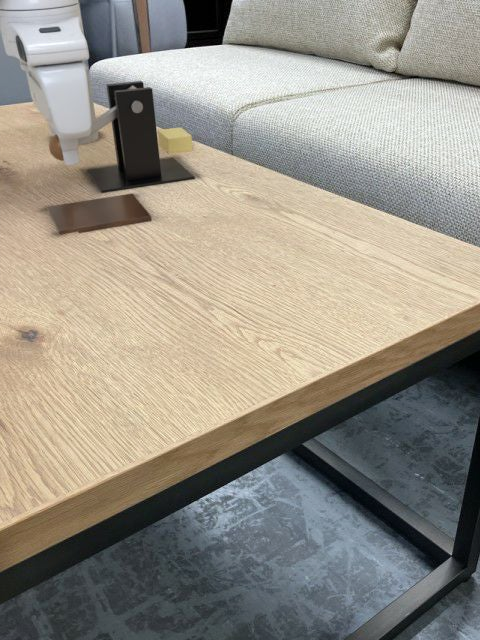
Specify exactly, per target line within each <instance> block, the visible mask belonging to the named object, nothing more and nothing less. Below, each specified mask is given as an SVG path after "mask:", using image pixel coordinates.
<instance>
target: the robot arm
mask: <svg viewBox="0 0 480 640" xmlns="http://www.w3.org/2000/svg"><path fill="white" fill-rule="evenodd" d="M0 35H1V39H2V43H3V47H4V51H5V54H6V55H7V56H8V57H10V58H16V59H17V60H18V62H19V66H20V69H21V70H22V71H23V72H25V74H26V79H27V84H28V89H29V93H30V97H31V101H32V103H33V105H34V106H35V108H36V109H37V110H38V112H39V113H40V114H41V115H42V117H43V119H45V121H46V122H47V124H48V126H49V130H50V133H51V137H53V136H54V135H56V134H57V136H58V137H59V141H60V146H61V148H60V149H61V153H62V158H63V161H62V162H64V164H65V165H66V166H75V165H78V164H80V162H81V158H80V153H79V145H78V138H82V137H87V136H89V135H90V134H91V127H92V119H91V108H90V98H89V89H88V81H87V73H86V68H85V65H86V63H85V61H88V60H90V52H89V45H88V41H87V40H86V39H87V38H86V37H85V33H84V26H83V19H82V15H81V9H80V2H79V0H0ZM83 61H84V62H83ZM84 63H85V64H84Z"/></svg>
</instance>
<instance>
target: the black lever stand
mask: <svg viewBox="0 0 480 640" xmlns="http://www.w3.org/2000/svg"><path fill="white" fill-rule="evenodd" d="M132 85H133V86H134V87H136V89H128V88H129V87H131V86H132ZM105 86H106V91H107V99H108V105H109V110H110V109H111V108H113V107H114V106H116V109H117V116H118V117H117V118H116V119H114V120H113V121H111V127H112V134H113V141H114V150H115V155H116V163H117V165H113V166H104V167H98V168H90V169H89V168H88V169H86V170H85V171H86V174H87V175H88V177H89V178H90V180H91V181H92V183H94V185H95V187H96V188H97V189H98V190H99V192H100V193H101V194H105V193H111V192H120V191H124V190H125V191H126V190H131V189H138V188H145V187H152V186H157V185H165V184H172V183H179V182H185V181H192V180H195V175H193V174H192V173H191V172H190V171H189V170H188V169H186V167H184V166H183V165H182V163H180V162H179V161H178V160H177V159H175V158H174V157H169V158H163V159H162V158H161V159H160V151H159V149H160V148H159V138H158V128H157V122H156V120H157V119H156V112H155V102H154V93H153V88H152V87H151V86H147V87H146V86H145V84H144V81H142V80H137V81H126V82H116V83H106V85H105ZM126 89H127V90H126ZM114 97H115V99H114Z"/></svg>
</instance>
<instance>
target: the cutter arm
mask: <svg viewBox="0 0 480 640" xmlns="http://www.w3.org/2000/svg"><path fill="white" fill-rule="evenodd" d="M128 89H136V87H134V86H133V85H132V86H131V87H129V88H128ZM126 90H127V89H126ZM114 99H115V97H114ZM117 117H118V116H117V109H116V106H114V107H113V108H111V109H110V108H109V109H108V110H107V111H105V112H103V113H102V114H101V115H99V116H97V117H96V119H95V120H93V121H92V127H91V134H90V135H92V134H93V133H95V132H96V131H98V132H99V130H101V129H103V128H104V127H106V126H108V125H109V124H110V123H112V121H113V120H114V119H116V118H117ZM90 135H89V136H90ZM89 136H87V137H89ZM87 137H82V138H78V143H80V142H81V141H83V140H84V139H86V138H87ZM60 148H61V146H60V141H59V137H58V136H57V134H56V135H54V136H51V138H50V140H49V141H48V150H49V152H50V155H52V157H54V159H56V160H58V161H61V162H64V161H63V158H62V153H61V149H60Z"/></svg>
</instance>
